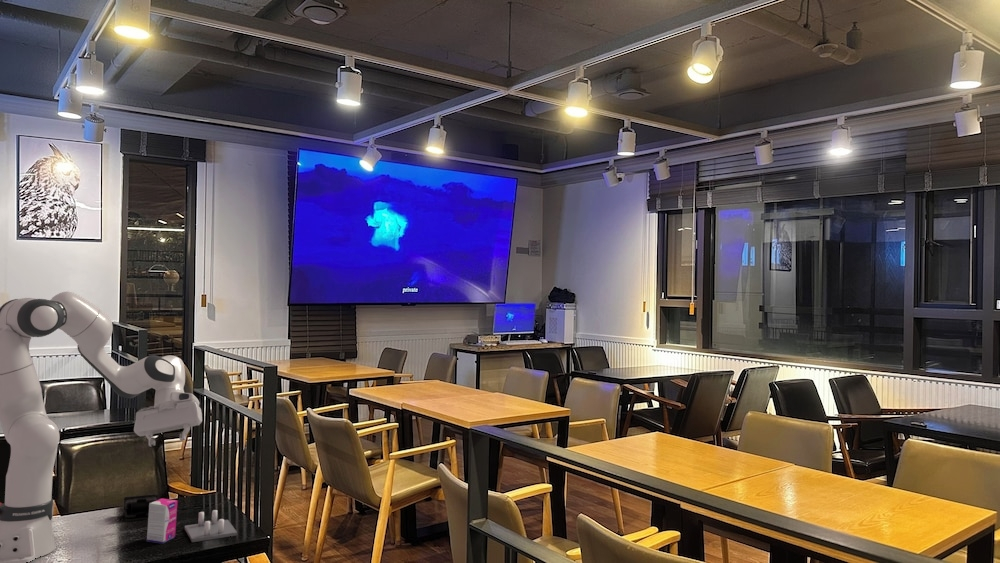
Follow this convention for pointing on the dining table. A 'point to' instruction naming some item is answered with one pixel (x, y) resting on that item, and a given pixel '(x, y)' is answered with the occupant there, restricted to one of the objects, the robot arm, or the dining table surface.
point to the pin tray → (210, 528)
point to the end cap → (138, 506)
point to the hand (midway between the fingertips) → (167, 442)
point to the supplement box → (162, 520)
